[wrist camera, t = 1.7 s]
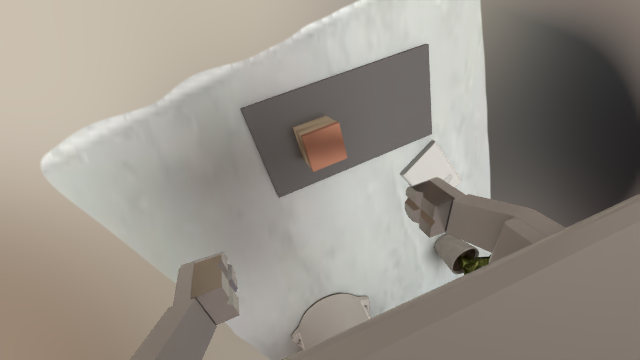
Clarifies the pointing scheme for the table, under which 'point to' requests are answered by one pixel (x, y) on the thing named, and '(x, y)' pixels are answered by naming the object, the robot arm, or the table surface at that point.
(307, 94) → the rubber mat
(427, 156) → the external hard drive
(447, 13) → the table surface
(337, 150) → the maple block
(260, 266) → the table surface
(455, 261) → the house plant
